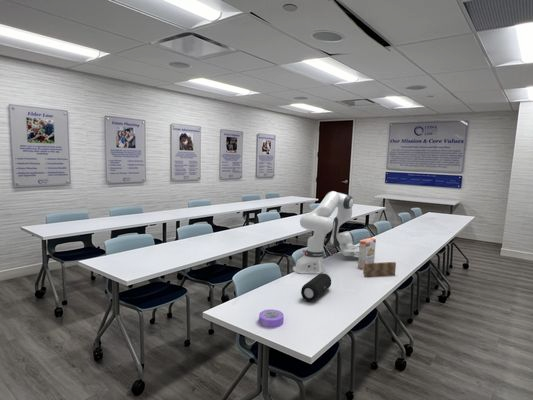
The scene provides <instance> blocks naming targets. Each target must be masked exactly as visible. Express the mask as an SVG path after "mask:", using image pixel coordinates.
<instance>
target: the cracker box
mask: <svg viewBox="0 0 533 400" xmlns="http://www.w3.org/2000/svg"><path fill="white" fill-rule="evenodd" d="M376 241H377V239H375V238H373V237H367V238H364V239H361V240H359V244H358V246H359V256H358V258H357V259H358V260H357V261H358V264H357V269H359V270H364V268H365V263H375V257H376V256H375V254H376Z"/></svg>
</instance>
